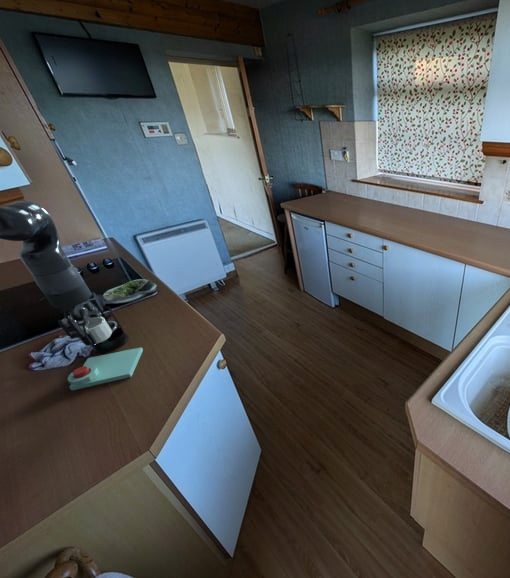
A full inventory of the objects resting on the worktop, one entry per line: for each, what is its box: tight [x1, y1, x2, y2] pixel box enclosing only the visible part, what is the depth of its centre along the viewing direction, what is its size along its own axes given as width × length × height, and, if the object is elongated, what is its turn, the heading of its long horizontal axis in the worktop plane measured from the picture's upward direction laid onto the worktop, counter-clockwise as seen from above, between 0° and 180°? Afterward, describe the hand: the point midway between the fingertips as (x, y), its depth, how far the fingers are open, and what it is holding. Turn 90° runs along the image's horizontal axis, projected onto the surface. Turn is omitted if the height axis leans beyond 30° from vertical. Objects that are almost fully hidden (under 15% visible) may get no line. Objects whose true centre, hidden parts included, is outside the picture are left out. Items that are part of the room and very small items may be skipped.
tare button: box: [71, 365, 90, 378], centre depth 83 cm, size 3×3×2 cm
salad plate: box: [102, 278, 158, 305], centre depth 122 cm, size 19×18×5 cm
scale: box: [66, 347, 144, 391], centre depth 88 cm, size 15×12×3 cm
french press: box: [76, 294, 130, 354], centre depth 93 cm, size 12×9×23 cm
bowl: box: [78, 317, 112, 344], centre depth 80 cm, size 6×6×5 cm
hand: (97, 335), depth 81 cm, fingers closed on bowl, 6 cm apart
